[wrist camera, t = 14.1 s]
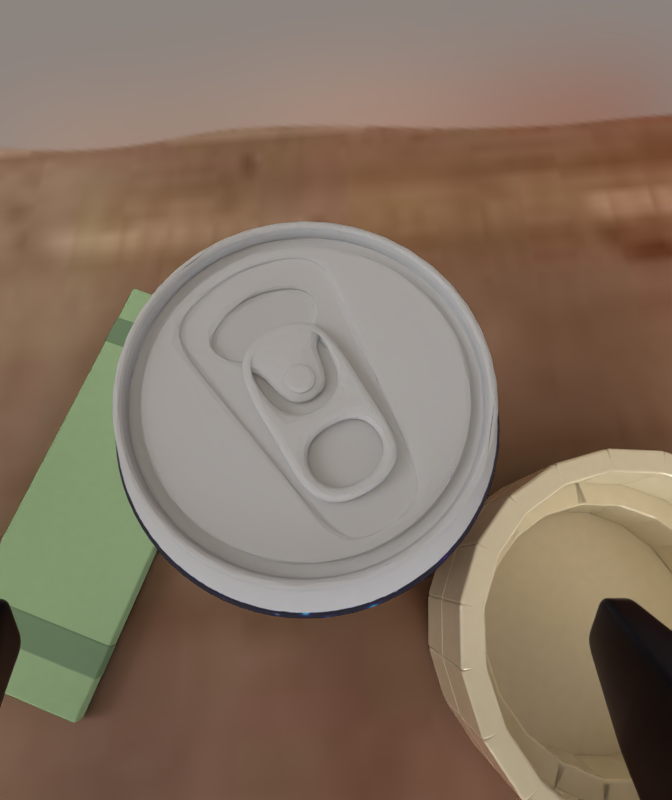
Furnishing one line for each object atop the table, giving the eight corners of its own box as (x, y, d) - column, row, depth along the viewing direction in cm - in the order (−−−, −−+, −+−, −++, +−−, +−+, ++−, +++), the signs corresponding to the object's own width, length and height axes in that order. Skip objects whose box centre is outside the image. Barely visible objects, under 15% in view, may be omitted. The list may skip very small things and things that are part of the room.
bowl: (739, 535, 19) (875, 524, 14) (690, 846, 16) (837, 957, 12) (471, 439, 19) (517, 399, 15) (384, 723, 17) (408, 782, 12)
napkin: (253, 336, 20) (252, 329, 20) (83, 719, 17) (75, 724, 16) (138, 295, 21) (132, 286, 20) (-54, 661, 17) (-67, 665, 16)
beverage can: (344, 386, 20) (377, 133, 8) (435, 528, 18) (623, 464, 7) (199, 468, 19) (6, 313, 7) (283, 625, 18) (210, 735, 6)
